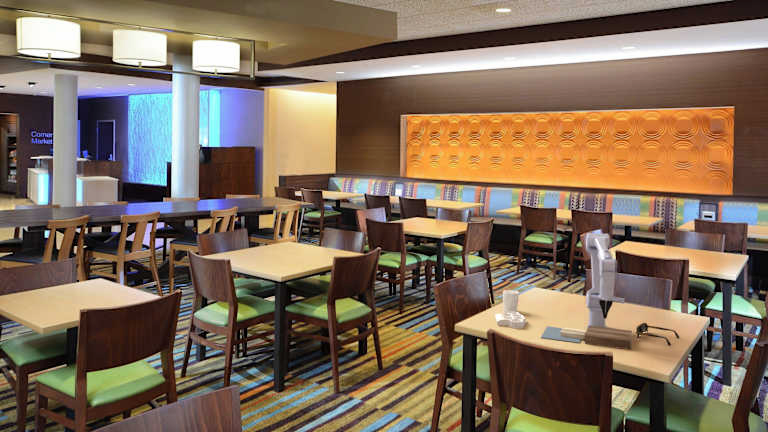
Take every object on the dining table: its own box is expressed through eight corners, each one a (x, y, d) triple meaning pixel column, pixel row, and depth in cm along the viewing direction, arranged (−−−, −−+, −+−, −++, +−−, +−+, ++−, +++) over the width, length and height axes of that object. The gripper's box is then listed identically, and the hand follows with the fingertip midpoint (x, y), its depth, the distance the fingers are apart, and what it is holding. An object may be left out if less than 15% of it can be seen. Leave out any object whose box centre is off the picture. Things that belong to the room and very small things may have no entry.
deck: (587, 332, 270) (588, 325, 270) (631, 338, 263) (631, 330, 263) (584, 343, 255) (585, 335, 255) (630, 349, 248) (631, 341, 248)
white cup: (518, 309, 307) (519, 290, 306) (517, 313, 299) (518, 294, 298) (502, 308, 309) (503, 289, 308) (501, 312, 302) (502, 292, 300)
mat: (547, 327, 278) (547, 326, 278) (583, 331, 272) (583, 330, 272) (541, 338, 261) (541, 337, 261) (579, 343, 255) (579, 342, 255)
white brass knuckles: (494, 317, 294) (524, 318, 292) (497, 328, 276) (530, 329, 274) (494, 310, 293) (525, 312, 292) (497, 321, 275) (530, 322, 274)
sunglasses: (670, 346, 254) (671, 335, 253) (633, 339, 263) (633, 328, 263) (679, 339, 265) (680, 328, 264) (642, 332, 274) (643, 321, 274)
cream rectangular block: (562, 331, 270) (562, 327, 269) (585, 334, 266) (586, 330, 265) (560, 336, 263) (560, 331, 263) (584, 339, 259) (584, 334, 259)
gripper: (588, 287, 258) (586, 317, 260) (624, 290, 253) (622, 322, 254) (589, 283, 265) (587, 313, 266) (625, 287, 259) (623, 318, 261)
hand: (605, 317), depth 261 cm, fingers closed
